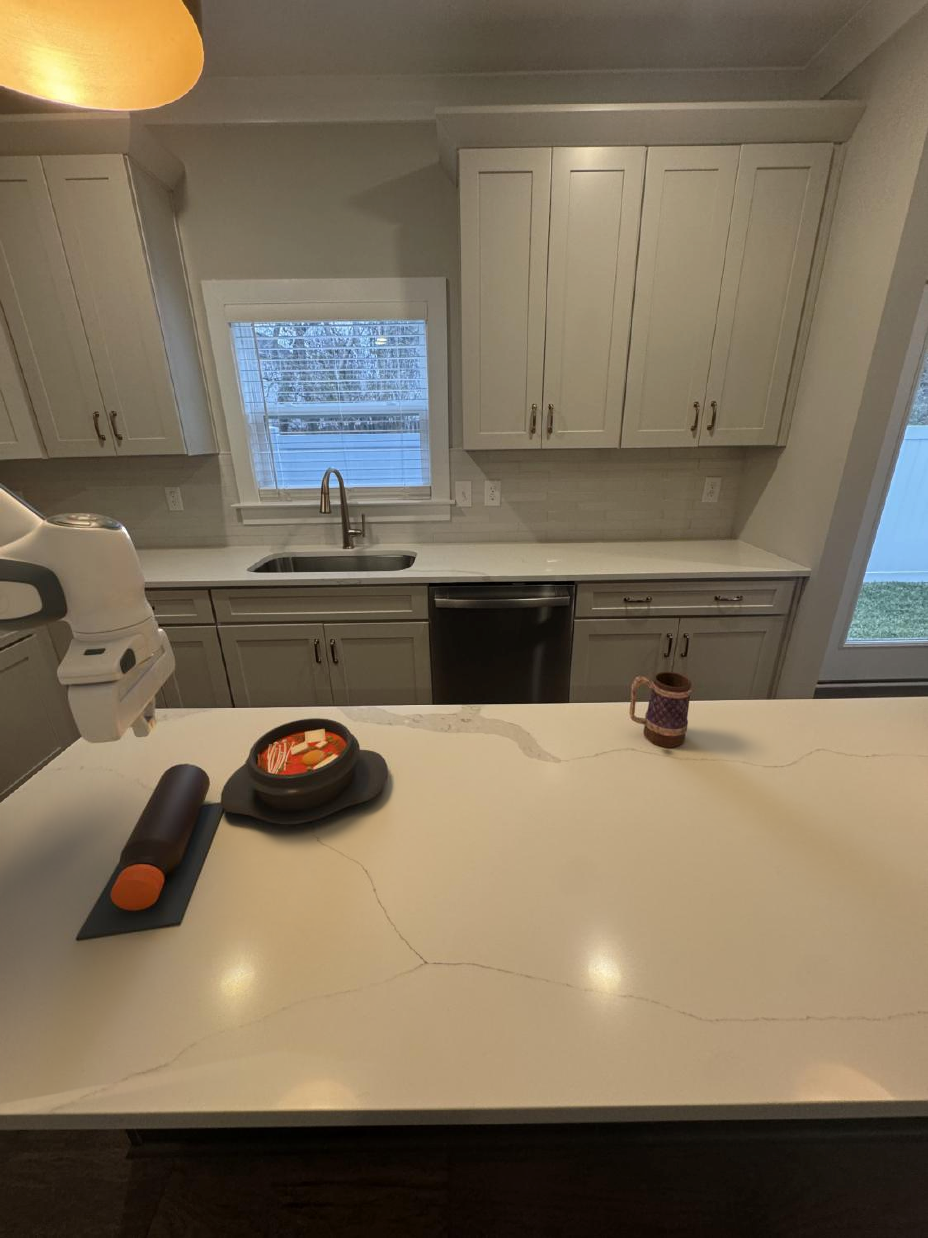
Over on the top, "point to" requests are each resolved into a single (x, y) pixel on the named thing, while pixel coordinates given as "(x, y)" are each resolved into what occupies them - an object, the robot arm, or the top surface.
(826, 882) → the top surface
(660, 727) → the mug
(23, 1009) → the top surface
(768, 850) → the top surface
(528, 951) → the top surface
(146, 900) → the vinegar
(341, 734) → the casserole
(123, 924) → the mat
